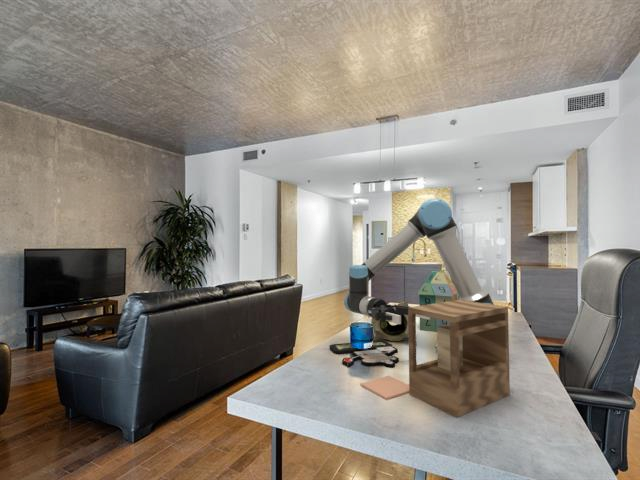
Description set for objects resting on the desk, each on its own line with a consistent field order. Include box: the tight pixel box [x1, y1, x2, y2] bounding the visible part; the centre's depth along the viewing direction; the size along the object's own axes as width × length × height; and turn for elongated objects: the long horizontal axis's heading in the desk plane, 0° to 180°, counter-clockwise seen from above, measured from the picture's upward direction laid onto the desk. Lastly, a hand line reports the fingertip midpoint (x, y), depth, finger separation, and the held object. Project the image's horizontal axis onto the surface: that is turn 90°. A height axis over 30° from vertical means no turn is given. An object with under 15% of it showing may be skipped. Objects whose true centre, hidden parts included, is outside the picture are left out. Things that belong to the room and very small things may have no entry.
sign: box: [328, 339, 400, 369], centre depth 137 cm, size 27×2×30 cm
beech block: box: [436, 325, 463, 371], centre depth 103 cm, size 5×5×12 cm
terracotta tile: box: [359, 375, 409, 401], centre depth 106 cm, size 12×12×1 cm
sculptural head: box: [370, 300, 409, 342], centre depth 163 cm, size 17×21×25 cm
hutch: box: [408, 299, 511, 418], centre depth 101 cm, size 24×16×26 cm, turn 121°
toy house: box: [417, 269, 458, 333], centre depth 178 cm, size 17×16×30 cm
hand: (415, 317), depth 114 cm, fingers open, 13 cm apart
